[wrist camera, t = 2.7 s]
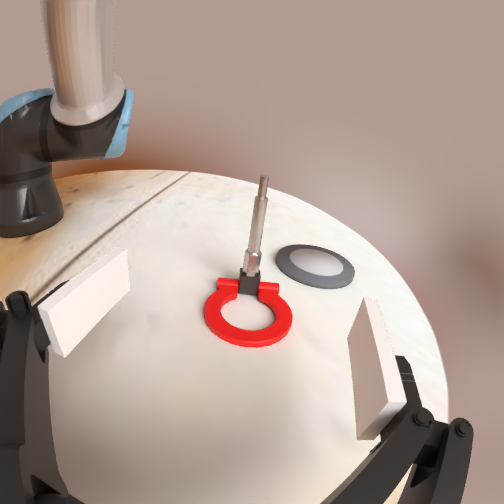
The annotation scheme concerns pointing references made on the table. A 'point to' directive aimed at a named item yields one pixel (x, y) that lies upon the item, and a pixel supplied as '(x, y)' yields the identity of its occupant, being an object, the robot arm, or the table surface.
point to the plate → (315, 266)
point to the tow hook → (250, 289)
